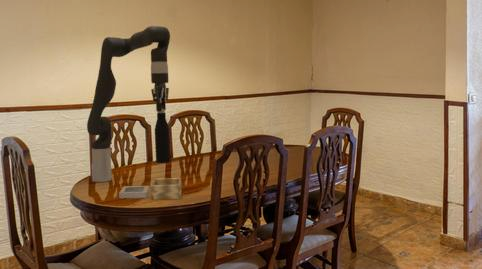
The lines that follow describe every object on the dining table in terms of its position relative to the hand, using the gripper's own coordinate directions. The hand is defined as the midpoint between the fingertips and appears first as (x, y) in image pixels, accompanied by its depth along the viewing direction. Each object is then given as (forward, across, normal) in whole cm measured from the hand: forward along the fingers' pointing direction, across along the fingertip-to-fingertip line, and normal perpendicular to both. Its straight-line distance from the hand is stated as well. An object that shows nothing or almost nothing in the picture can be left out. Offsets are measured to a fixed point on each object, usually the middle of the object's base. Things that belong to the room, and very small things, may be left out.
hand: (161, 110), depth 211 cm
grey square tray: (+39, -2, +14) cm, 41 cm away
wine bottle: (+23, 0, 0) cm, 23 cm away
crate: (+39, +1, -1) cm, 39 cm away
